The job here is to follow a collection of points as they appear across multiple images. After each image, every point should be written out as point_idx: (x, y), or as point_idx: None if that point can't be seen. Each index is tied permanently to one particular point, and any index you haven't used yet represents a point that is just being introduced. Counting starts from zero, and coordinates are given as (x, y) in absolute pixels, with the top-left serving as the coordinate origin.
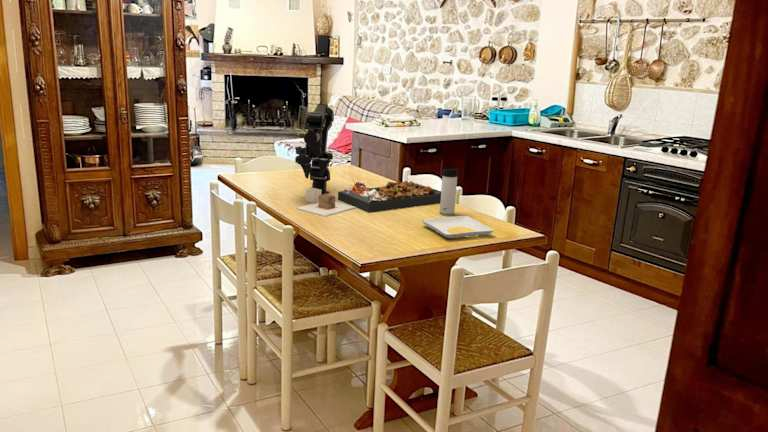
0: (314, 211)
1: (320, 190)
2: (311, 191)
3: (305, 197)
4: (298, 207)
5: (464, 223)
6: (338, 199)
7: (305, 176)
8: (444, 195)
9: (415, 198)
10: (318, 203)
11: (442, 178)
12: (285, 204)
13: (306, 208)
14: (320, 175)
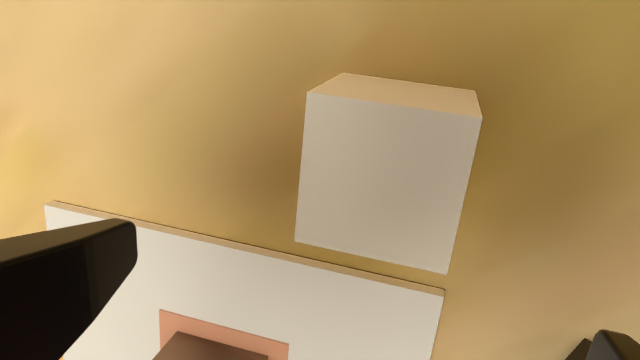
0: (79, 353)
1: (425, 265)
2: (300, 198)
3: (334, 78)
4: (63, 210)
5: None
6: (578, 351)
7: (81, 232)
8: None
9: None
10: (160, 350)
11: None
12: (80, 26)
13: None
14: (593, 342)
